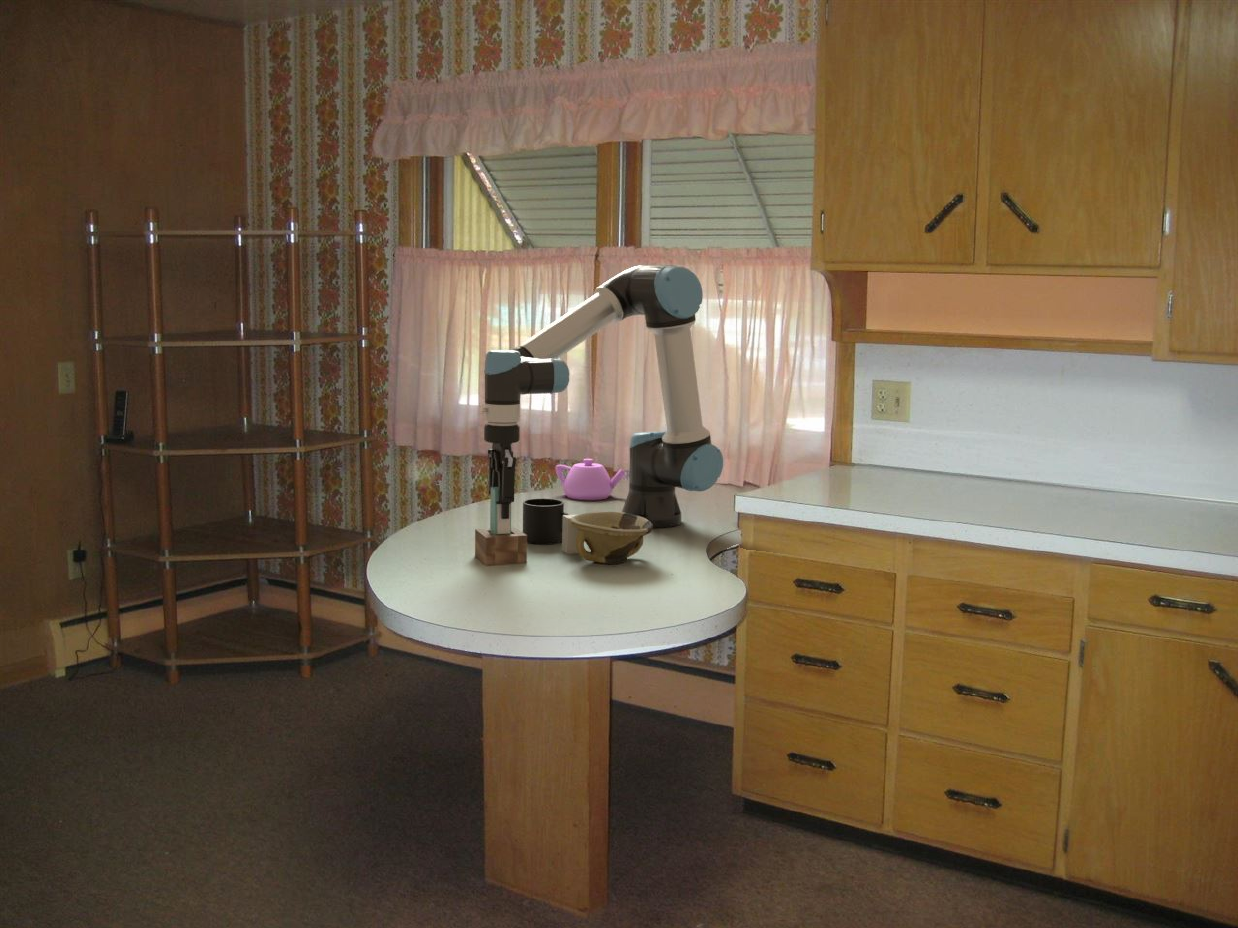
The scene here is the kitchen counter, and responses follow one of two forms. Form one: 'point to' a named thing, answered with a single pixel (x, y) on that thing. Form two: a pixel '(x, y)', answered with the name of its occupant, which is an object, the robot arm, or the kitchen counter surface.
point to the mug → (543, 520)
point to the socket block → (501, 547)
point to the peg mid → (569, 535)
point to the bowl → (609, 535)
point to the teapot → (588, 480)
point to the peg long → (495, 511)
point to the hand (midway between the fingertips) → (500, 530)
